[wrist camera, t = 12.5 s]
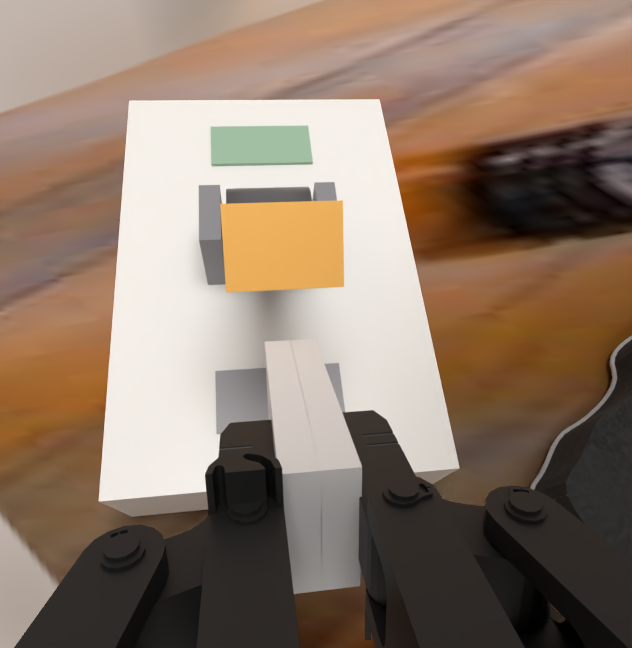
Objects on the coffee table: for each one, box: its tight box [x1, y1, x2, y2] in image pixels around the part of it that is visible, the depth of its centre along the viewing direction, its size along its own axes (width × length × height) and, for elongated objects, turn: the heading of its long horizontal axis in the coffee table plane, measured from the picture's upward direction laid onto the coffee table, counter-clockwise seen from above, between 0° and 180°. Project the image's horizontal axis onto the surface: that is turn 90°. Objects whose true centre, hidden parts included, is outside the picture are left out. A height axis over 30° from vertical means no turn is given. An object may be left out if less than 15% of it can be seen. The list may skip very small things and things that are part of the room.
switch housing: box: [99, 99, 459, 517], centre depth 29 cm, size 16×24×10 cm, turn 6°
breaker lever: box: [220, 187, 344, 293], centre depth 22 cm, size 4×4×13 cm
